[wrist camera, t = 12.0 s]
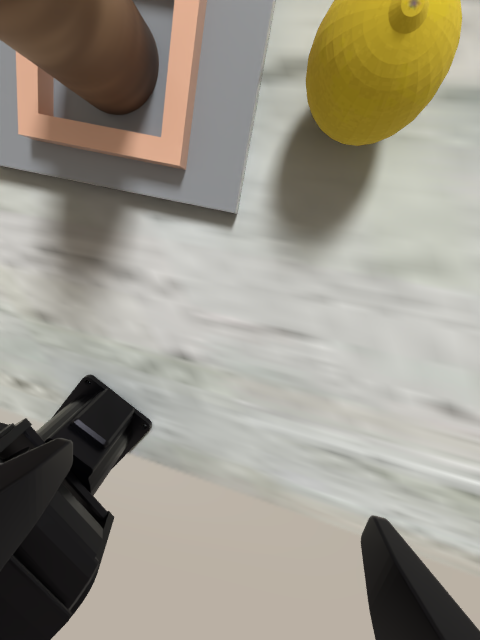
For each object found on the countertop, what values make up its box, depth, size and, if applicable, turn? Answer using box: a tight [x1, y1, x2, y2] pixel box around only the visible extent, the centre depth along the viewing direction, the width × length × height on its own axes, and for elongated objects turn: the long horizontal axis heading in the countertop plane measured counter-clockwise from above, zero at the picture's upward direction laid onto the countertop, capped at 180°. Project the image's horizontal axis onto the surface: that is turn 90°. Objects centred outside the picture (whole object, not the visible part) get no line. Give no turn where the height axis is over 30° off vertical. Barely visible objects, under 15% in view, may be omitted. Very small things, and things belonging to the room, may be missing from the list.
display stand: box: [0, 0, 276, 214], centre depth 16 cm, size 13×16×2 cm
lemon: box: [306, 0, 462, 146], centre depth 13 cm, size 6×6×8 cm
